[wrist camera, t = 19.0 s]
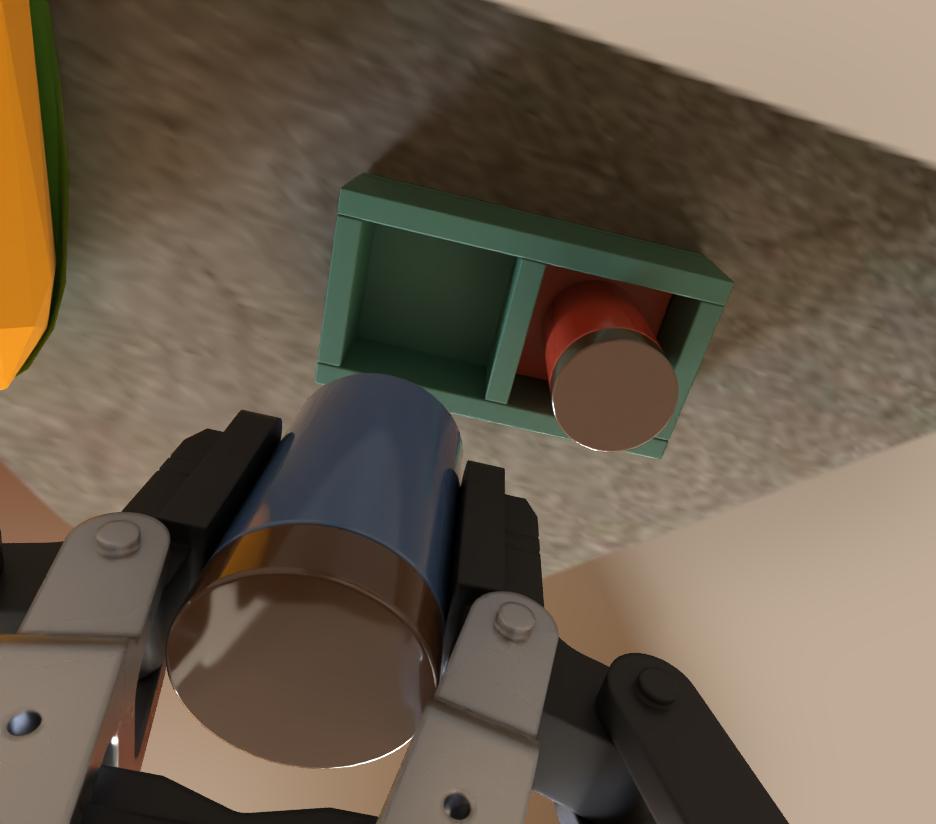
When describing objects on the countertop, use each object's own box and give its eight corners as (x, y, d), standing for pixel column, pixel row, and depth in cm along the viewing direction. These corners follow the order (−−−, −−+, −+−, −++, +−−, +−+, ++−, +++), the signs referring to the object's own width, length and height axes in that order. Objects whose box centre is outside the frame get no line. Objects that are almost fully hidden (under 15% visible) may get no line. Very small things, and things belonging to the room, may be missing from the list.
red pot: (557, 269, 24) (572, 325, 19) (655, 293, 24) (698, 355, 19) (530, 361, 25) (537, 438, 20) (622, 382, 26) (653, 464, 20)
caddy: (362, 171, 23) (340, 187, 20) (704, 254, 24) (735, 282, 21) (337, 345, 26) (313, 383, 23) (642, 414, 27) (661, 461, 24)
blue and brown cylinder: (302, 353, 13) (164, 542, 8) (481, 394, 14) (465, 606, 8) (283, 502, 15) (159, 743, 10) (443, 536, 15) (410, 791, 10)
